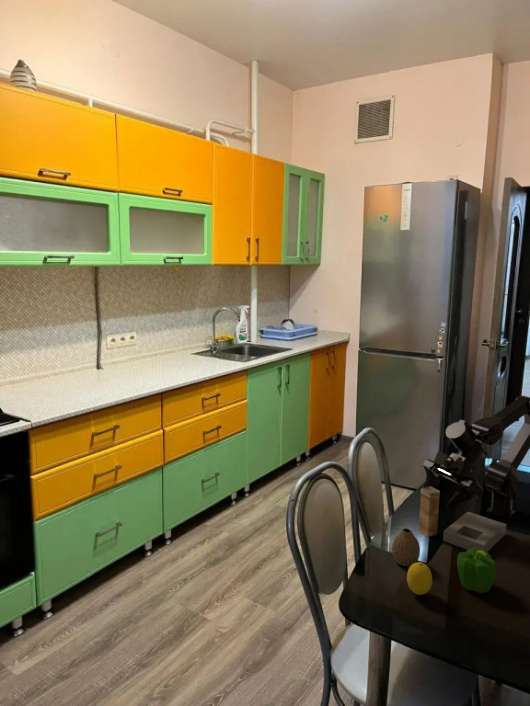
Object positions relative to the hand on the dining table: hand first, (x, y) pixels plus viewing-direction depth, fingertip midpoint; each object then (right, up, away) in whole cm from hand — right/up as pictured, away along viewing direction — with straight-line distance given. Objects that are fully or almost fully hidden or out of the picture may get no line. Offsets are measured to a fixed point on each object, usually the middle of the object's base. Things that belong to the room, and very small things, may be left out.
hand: (434, 501), depth 146 cm
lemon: (-13, -14, -27) cm, 33 cm away
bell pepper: (+1, -13, -24) cm, 28 cm away
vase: (-12, -12, -14) cm, 22 cm away
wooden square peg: (-2, -9, +1) cm, 9 cm away
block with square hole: (+11, -10, -2) cm, 15 cm away
